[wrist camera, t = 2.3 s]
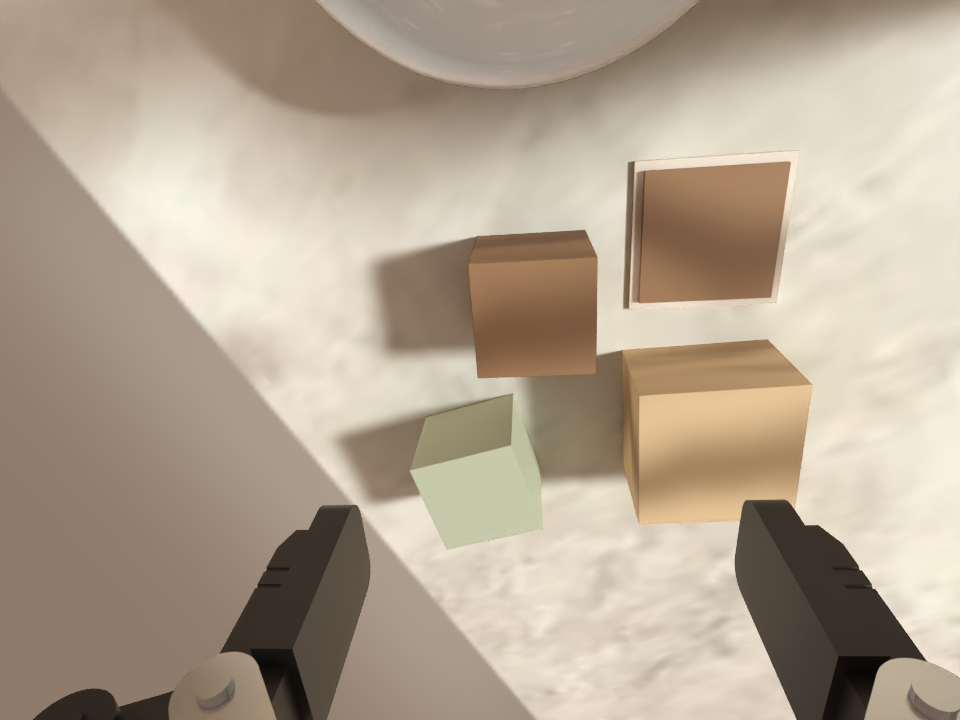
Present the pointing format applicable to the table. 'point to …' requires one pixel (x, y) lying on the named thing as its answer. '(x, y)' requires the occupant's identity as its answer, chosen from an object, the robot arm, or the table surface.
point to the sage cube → (478, 473)
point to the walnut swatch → (710, 229)
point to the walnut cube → (534, 304)
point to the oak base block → (711, 429)
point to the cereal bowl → (505, 36)
